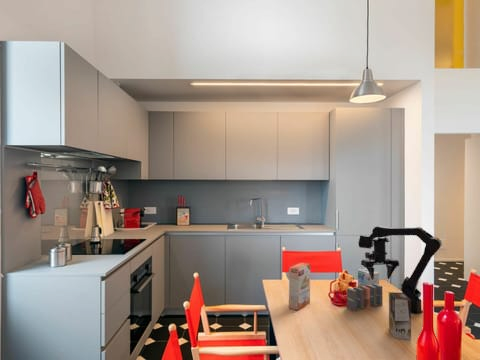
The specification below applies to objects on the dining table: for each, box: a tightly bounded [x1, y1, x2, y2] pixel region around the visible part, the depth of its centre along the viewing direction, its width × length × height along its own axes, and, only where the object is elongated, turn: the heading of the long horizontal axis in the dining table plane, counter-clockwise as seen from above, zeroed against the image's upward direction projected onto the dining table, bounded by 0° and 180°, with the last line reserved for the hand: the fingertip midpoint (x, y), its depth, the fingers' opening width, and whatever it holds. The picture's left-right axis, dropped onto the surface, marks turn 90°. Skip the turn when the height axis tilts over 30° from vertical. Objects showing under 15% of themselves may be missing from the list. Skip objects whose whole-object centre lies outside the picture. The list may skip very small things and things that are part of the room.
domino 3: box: [359, 286, 371, 309], centre depth 159 cm, size 5×2×10 cm, turn 25°
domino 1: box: [346, 287, 358, 312], centre depth 155 cm, size 5×2×10 cm, turn 25°
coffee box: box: [388, 291, 412, 341], centre depth 129 cm, size 9×6×16 cm
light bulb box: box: [357, 268, 380, 288], centre depth 187 cm, size 11×7×11 cm, turn 25°
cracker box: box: [288, 262, 311, 311], centre depth 160 cm, size 14×6×21 cm, turn 143°
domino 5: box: [372, 283, 383, 307], centre depth 163 cm, size 5×2×10 cm, turn 25°
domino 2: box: [353, 286, 364, 311], centre depth 157 cm, size 5×2×10 cm, turn 25°
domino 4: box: [366, 284, 377, 308], centre depth 161 cm, size 5×2×10 cm, turn 25°
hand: (380, 279), depth 164 cm, fingers open, 9 cm apart
